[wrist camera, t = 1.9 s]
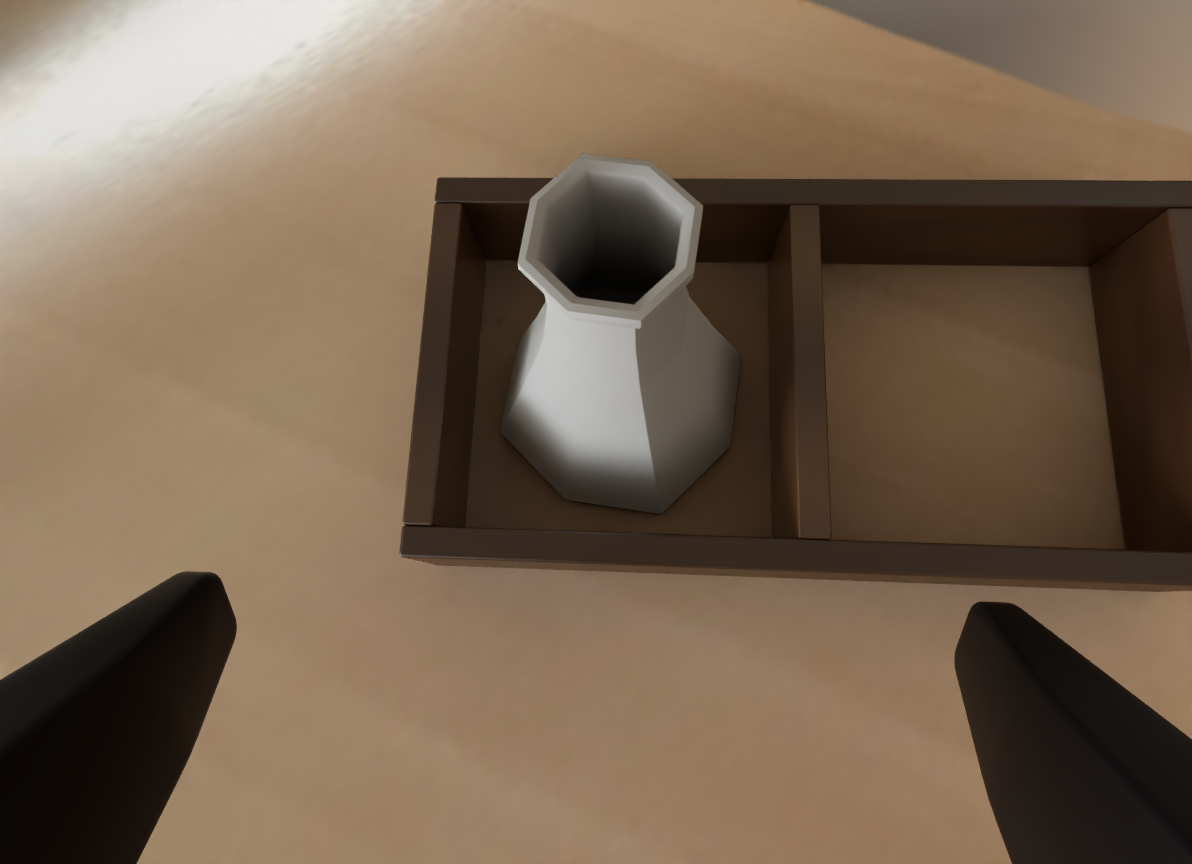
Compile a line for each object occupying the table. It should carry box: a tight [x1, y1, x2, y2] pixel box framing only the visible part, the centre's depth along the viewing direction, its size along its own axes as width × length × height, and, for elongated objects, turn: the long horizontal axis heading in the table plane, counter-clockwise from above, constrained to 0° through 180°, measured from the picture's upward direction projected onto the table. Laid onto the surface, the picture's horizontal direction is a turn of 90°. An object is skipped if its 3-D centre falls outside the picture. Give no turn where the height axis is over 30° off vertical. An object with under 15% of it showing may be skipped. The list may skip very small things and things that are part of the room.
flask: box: [500, 153, 741, 514], centre depth 17 cm, size 7×7×10 cm
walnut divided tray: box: [400, 178, 1192, 592], centre depth 20 cm, size 11×20×4 cm, turn 88°
